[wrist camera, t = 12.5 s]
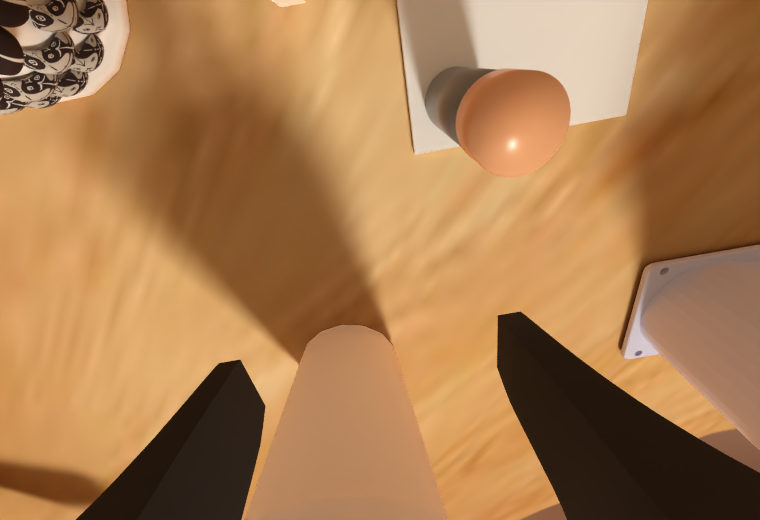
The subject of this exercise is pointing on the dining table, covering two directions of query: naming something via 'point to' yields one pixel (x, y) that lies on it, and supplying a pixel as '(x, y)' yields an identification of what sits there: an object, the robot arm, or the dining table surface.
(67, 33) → the decorative candle
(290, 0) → the rectangular block
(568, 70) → the paper
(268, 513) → the foam cup
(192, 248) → the dining table surface
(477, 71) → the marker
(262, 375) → the dining table surface
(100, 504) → the robot arm
